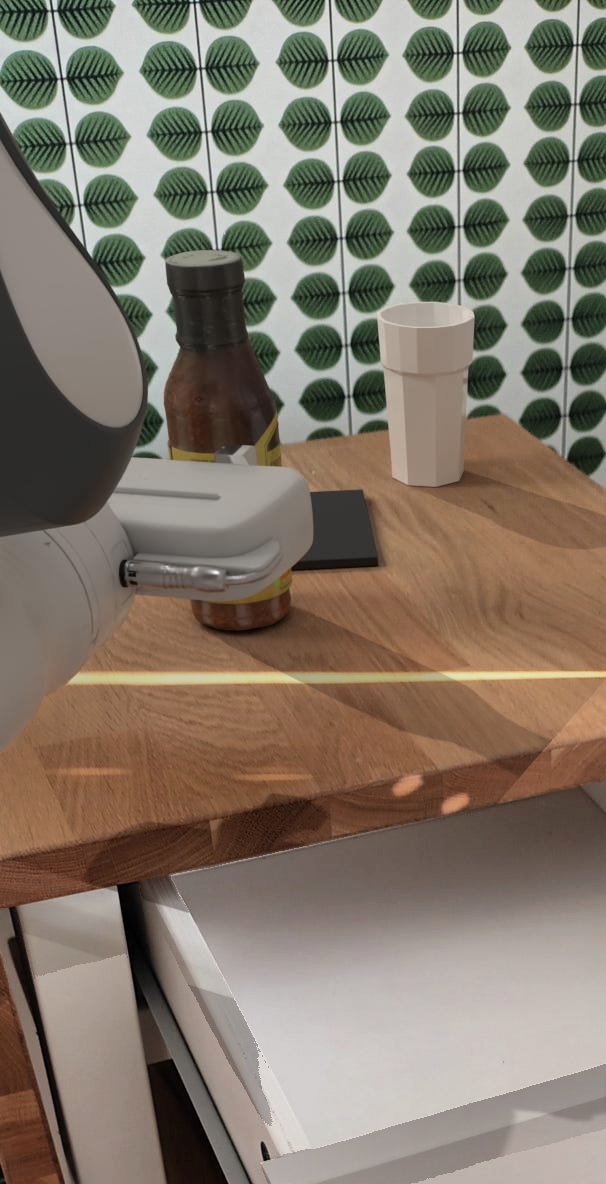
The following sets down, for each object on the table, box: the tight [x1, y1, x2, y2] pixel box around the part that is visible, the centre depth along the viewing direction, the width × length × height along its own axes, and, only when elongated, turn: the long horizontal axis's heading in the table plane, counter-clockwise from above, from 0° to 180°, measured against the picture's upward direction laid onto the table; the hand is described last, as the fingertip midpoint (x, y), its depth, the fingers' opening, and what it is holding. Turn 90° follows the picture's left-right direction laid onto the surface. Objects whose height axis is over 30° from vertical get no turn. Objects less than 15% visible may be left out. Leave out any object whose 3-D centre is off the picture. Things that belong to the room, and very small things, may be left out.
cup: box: [376, 301, 476, 488], centre depth 109 cm, size 7×7×11 cm
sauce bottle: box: [163, 249, 293, 632], centre depth 87 cm, size 6×6×20 cm
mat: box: [291, 489, 379, 571], centre depth 102 cm, size 14×12×1 cm
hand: (153, 454), depth 77 cm, fingers open, 8 cm apart
